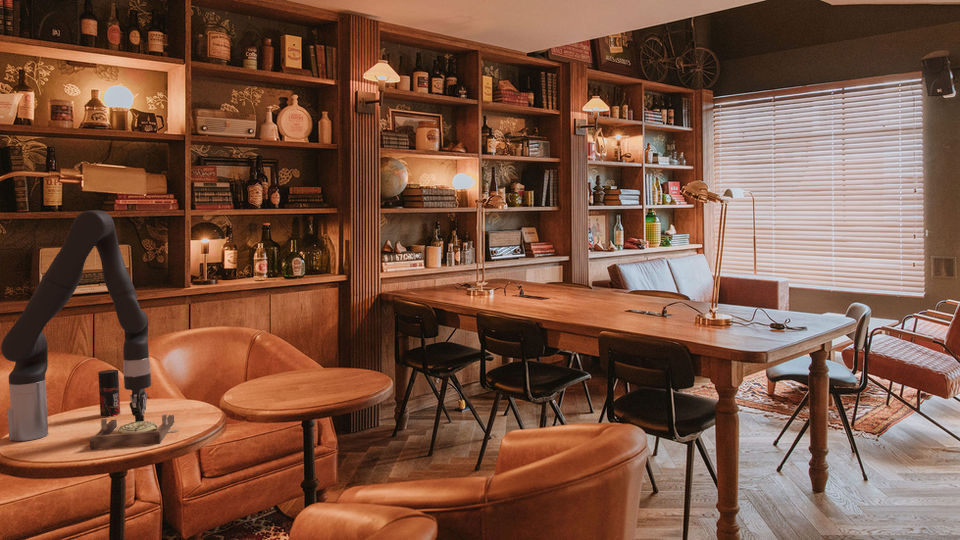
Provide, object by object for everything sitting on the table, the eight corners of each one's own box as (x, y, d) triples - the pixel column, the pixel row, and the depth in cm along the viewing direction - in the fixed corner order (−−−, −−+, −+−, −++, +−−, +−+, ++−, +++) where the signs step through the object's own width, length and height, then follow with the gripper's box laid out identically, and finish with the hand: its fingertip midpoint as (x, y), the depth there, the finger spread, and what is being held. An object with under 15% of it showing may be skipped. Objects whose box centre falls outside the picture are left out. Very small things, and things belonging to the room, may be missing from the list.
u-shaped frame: (78, 450, 188) (77, 431, 188) (101, 428, 210) (100, 411, 209) (171, 442, 195) (170, 424, 194) (184, 421, 216) (183, 405, 216)
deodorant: (107, 412, 229) (105, 369, 228) (123, 412, 228) (121, 369, 227) (96, 417, 223) (94, 373, 222) (113, 417, 222) (111, 373, 222)
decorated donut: (132, 444, 194) (132, 431, 194) (110, 438, 199) (110, 426, 199) (164, 434, 203) (163, 422, 203) (142, 429, 209) (142, 417, 208)
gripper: (129, 369, 212) (131, 422, 213) (118, 378, 199) (121, 434, 200) (154, 367, 214) (157, 419, 215) (145, 376, 201) (148, 431, 202)
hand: (140, 426), depth 208 cm, fingers closed
